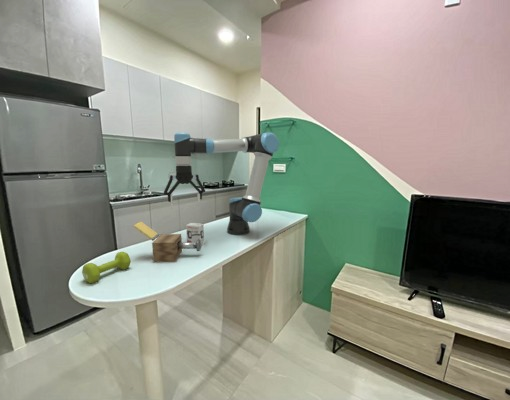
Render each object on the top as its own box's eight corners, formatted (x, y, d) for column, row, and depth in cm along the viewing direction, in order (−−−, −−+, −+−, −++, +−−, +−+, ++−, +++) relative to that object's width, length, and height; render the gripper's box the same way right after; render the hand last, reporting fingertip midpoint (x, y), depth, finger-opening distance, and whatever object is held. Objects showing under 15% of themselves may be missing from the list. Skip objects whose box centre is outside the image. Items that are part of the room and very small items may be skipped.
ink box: (186, 245, 125) (185, 224, 122) (191, 241, 129) (190, 222, 127) (200, 246, 122) (199, 226, 120) (204, 243, 127) (203, 223, 125)
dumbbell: (91, 286, 83) (89, 268, 82) (80, 281, 87) (78, 263, 86) (133, 268, 97) (131, 252, 96) (122, 264, 101) (121, 249, 100)
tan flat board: (158, 236, 111) (159, 234, 111) (153, 241, 104) (154, 239, 104) (139, 222, 109) (140, 221, 109) (132, 226, 102) (134, 225, 102)
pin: (201, 248, 112) (200, 238, 112) (199, 253, 107) (198, 241, 106) (176, 249, 112) (175, 238, 111) (172, 253, 106) (172, 242, 105)
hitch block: (182, 251, 115) (181, 234, 114) (175, 261, 104) (174, 242, 102) (162, 251, 115) (161, 234, 113) (153, 262, 103) (152, 242, 101)
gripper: (206, 164, 120) (207, 203, 123) (156, 165, 109) (159, 207, 112) (210, 165, 113) (211, 205, 117) (157, 165, 102) (160, 210, 106)
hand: (185, 206), depth 115 cm, fingers open, 13 cm apart
